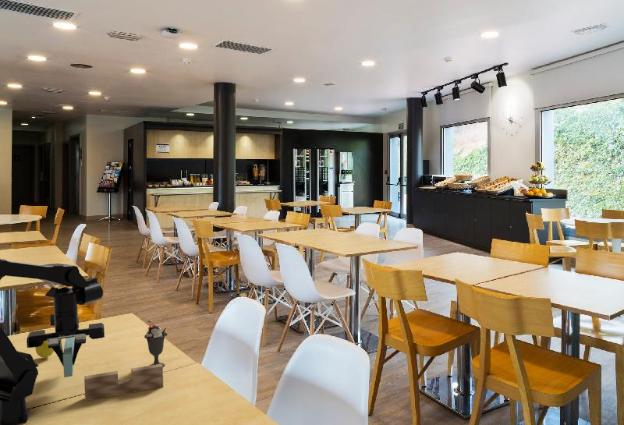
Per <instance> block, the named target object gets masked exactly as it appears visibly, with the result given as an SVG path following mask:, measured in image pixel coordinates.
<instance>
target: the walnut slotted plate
mask: <svg viewBox="0 0 624 425" xmlns="http://www.w3.org/2000/svg"><path fill="white" fill-rule="evenodd" d="M149 365H150V366H149ZM149 365H147V366H141V367H140V366H139V367H134V368H130V378H131V379H125V380H119V372H118V370H115V371H110V372H109V371H108V372H103V373H96V374H91V375H85V376H84V379H83V380H84V383H83V384H84V401H85V402H86V401H92V400H98V399H104V398H108V397H113V396H119V395H125V394H131V393H136V392H142V391H147V390H152V389H158V388H164V371H163V370H164V369H163V368H164V367H163V366H162V364H157V365H151V364H149Z"/></svg>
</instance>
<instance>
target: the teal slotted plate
mask: <svg viewBox="0 0 624 425" xmlns="http://www.w3.org/2000/svg"><path fill="white" fill-rule="evenodd" d="M74 339H75V337H72V338H65V341H64V346H63V365H62V367H63V377H64V378H69V377H70V378H71V377H73V376H74V374H73V373H74V365H73V362H72V359H73V349H74Z"/></svg>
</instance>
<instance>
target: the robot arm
mask: <svg viewBox="0 0 624 425" xmlns="http://www.w3.org/2000/svg"><path fill="white" fill-rule="evenodd" d="M4 277H13V278H15V277H16V278H22V279H23V278H25V279H33V280H39V281H40V280H41V281H43V282H45V283H48V284H52V285H57V286H63V287H59V288H58V287H54V286H51V287H50V289H49V290H48V291H46V293H45V295H44V296H45V297H46V298H52V300H53V314H50V315H49V316H50V318H49V319H50V320H49V321H50V322H49V323H50V326H51V327H54V332H50V333H49V332H48V333H46V330H45V329H41V330H35V331H30V332H29V333H28V334H27V337H26V348H27V349H31V348H35V347H40V346H41V345H42V344H43V343H44V341H47V342H48V348H52V349H53V350H54V352H53V353H55V354H56V356H57V358H58V360H59V362H60V363H61V366H63V352H64V348H63V346H62V340H64V339H66V338H72V337H74V349H73V359H72V362H73V366H74V365H75V363H76V359H77V357H78V353H79V351H80V349H81V347H82V345H83V344H84V345H85V344H86V343H87V336H88V338H90V339H91V340H97V339H99V340H100V339H104V338H105V324H104V323H102V322H99V323H98V322H97V323H90V324H88V327H87V328H80V321H79V320H80V318H79V315H78V314H79V312H78V310H79V308H78V305H79V306H83V305H86V304H87V305H88V304H89V303H90V304H91V303H93V302H94V303H95V302H96V301H99V300H101V299H102V298H103V297H104V296H103V295H104V290H103V288H102V286H101V284H100V282H98V277H97V278H96V277H89V278H87V279H86V278H84V276H83V275H82V274H81V272H80V269H79V266H77V265H74V264H68V263H67V264H65V263H48V264H47V263H46V264H33V263H27V262H18V261H11V260H8V259H4V258H0V281H1V280H2V279H3V278H4ZM79 328H80V329H79ZM37 367H39V364H37V363H36V362H35V360H34V358H33V356H32V354H31V353H26V352H23V351H18V350H17V349H16V346H14V344H13V342H12V341H11V339H10V338H9V336H8V335H7V333H6V331H5V330H4V328H3V326H2V325H1V324H0V425H19V424H25V423H27V422H28V420H29V415H30V411H31V409H30V408H27V397H30V396H32V395H33V393H34V389H35V385H36V381H37V378H38V376H39V370H38V368H37Z"/></svg>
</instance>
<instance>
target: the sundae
mask: <svg viewBox="0 0 624 425" xmlns="http://www.w3.org/2000/svg"><path fill="white" fill-rule="evenodd" d="M147 323H148V324H149V327H148V330H147V332H146V333H145V334H144V337H143V338H145V339H146V341H147V346H148V347H147V348H148V351H149V354H151V355H152V356H153V359H154V361H153V363H150V364H149V365H148V366H150V365H157V364H162V366H163V368H164V367H165V366H166V365H165V363H163V362H160V361H159V360H160V359H159V356H160V355H161V354H162V353H163V350H164V344H165V337H166V336H168V333H167V332H166V327H164V329H163V330H162V328H161V327H160V326H158V325H156V324H152V323H151V321H150V320H147Z"/></svg>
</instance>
